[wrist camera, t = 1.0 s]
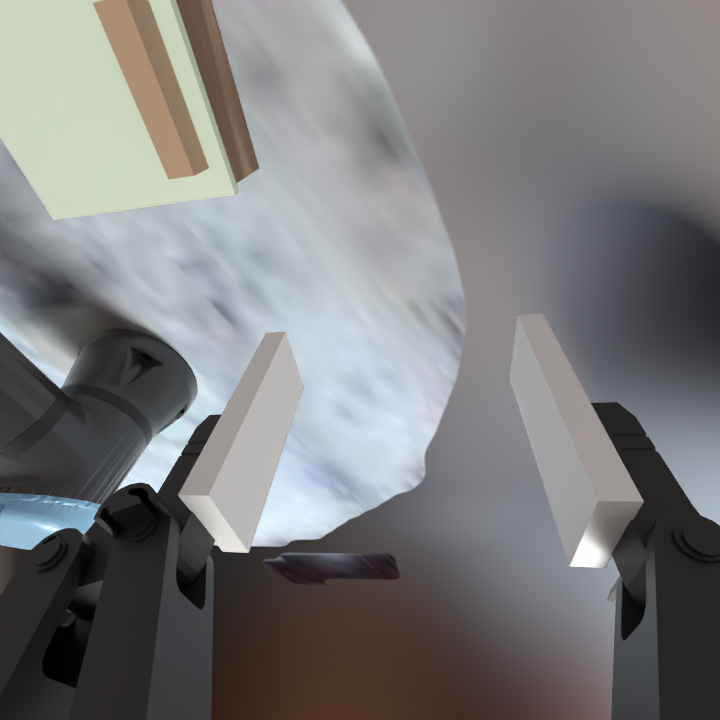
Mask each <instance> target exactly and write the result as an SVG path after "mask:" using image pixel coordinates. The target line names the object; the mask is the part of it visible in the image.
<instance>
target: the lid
mask: <svg viewBox="0 0 720 720" xmlns="http://www.w3.org/2000/svg"><path fill="white" fill-rule="evenodd" d="M0 138H1V139H2V141H3V142H4V144H5V145H6V147H7V149H8V150H9V152H10V153H11V155H12V156H13V158H14V159H15V161H16V163H17V164H18V166H19V167H20V169H21V170H22V172H23V173H24V175H25V177H26V178H27V180H28V181H29V183H30V184H31V186H32V187H33V189H34V191H35V192H36V194H37V195H38V197H39V198H40V200H41V201H42V203H43V204H44V206H45V208H46V209H47V211H48V212H49V214H50V215H51V217H52V218H53V220H60V219H67V218H74V217H81V216H88V215H95V214H102V213H109V212H116V211H123V210H130V209H137V208H144V207H151V206H158V205H165V204H172V203H179V202H186V201H193V200H200V199H207V198H214V197H221V196H228V195H235V194H236V193H238V192H239V191H238V187H237V184H236V181H235V178H234V175H233V172H232V169H231V166H230V163H229V160H228V157H227V154H226V151H225V148H224V145H223V142H222V139H221V136H220V133H219V130H218V127H217V124H216V121H215V118H214V114H213V111H212V108H211V105H210V102H209V99H208V96H207V93H206V90H205V87H204V84H203V81H202V78H201V75H200V72H199V69H198V66H197V63H196V60H195V57H194V54H193V51H192V48H191V44H190V41H189V38H188V35H187V32H186V29H185V26H184V23H183V20H182V17H181V14H180V11H179V8H178V5H177V2H176V0H0Z"/></svg>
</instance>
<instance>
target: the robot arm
mask: <svg viewBox="0 0 720 720" xmlns="http://www.w3.org/2000/svg"><path fill="white" fill-rule="evenodd" d="M510 382H511V385H512V388H513V391H514V394H515V397H516V400H517V403H518V407H519V410H520V413H521V416H522V419H523V422H524V425H525V428H526V432H527V434H528V438H529V441H530V444H531V447H532V450H533V453H534V456H535V460H536V463H537V466H538V469H539V472H540V475H541V478H542V481H543V484H544V487H545V491H546V494H547V497H548V500H549V503H550V506H551V509H552V513H553V516H554V519H555V522H556V525H557V528H558V531H559V534H560V538H561V541H562V544H563V547H564V550H565V553H566V556H567V559H568V563H569V566H574V567H576V566H577V567H599V568H606V567H607V565H608V563H609V561H610V560H611V558H612V556H613V559H614V561H615V563H616V566H617V568H618V571H619V573H620V577H619V579H618V580H617V581H616V583H615V585H614V586H613V588H612V589H611V591H610V594H609V597H608V600H609V601H611V602H614V601H615V599H616V612H615V613H616V614H615V638H614V663H613V688H612V714H611V720H720V526H719V525H718V524H716V523H715V522H713V521H712V520H709V519H707V518H705V517H703V516H700V514H699V513H698V512H697V510H696V509H695V508H694V507H693V505H692V504H691V502H690V501H689V499H688V498H687V496H686V495H685V493H684V491H683V490H682V488H681V487H680V485H679V484H678V482H677V481H676V479H675V478H674V476H673V474H672V473H671V471H670V470H669V468H668V467H667V465H666V464H665V462H664V460H663V459H662V457H661V456H660V454H659V453H658V452H656V450H655V446H654V445H653V443H652V442H651V440H650V439H649V437H646V433H645V431H644V429H643V428H642V426H641V425H640V423H639V422H638V420H637V419H636V417H635V416H634V415H632V414H631V413H630V412H629V411H627V410H626V409H625V408H624V407H622V406H621V405H620V404H619V403H617V402H612V403H611V402H609V403H590V401H589V399H588V397H587V395H586V393H585V392H584V390H583V388H582V386H581V385H580V382H579V381H578V379H577V377H576V375H575V373H574V371H573V369H572V368H571V366H570V364H569V362H568V360H567V358H566V356H565V355H564V353H563V351H562V349H561V347H560V345H559V344H558V342H557V340H556V338H555V336H554V334H553V332H552V330H551V329H550V327H549V325H548V323H547V321H546V319H545V317H544V316H543V314H536V315H521V316H518V318H517V325H516V334H515V342H514V349H513V357H512V364H511V372H510ZM303 388H304V387H303V384H302V381H301V378H300V375H299V372H298V368H297V365H296V362H295V359H294V356H293V353H292V350H291V347H290V344H289V341H288V338H287V335H286V332H276V333H266V334H265V336H264V338H263V340H262V341H261V343H260V345H259V347H258V349H257V351H256V352H255V354H254V356H253V358H252V360H251V362H250V363H249V365H248V367H247V369H246V371H245V373H244V375H243V376H242V378H241V380H240V382H239V384H238V386H237V387H236V389H235V391H234V393H233V395H232V397H231V398H230V400H229V402H228V404H227V406H226V408H225V410H224V411H223V413H222V415H209V416H208V417H207V418H206V419H205V420H204V421H203V422H202V423H201V424H200V425H199V426H198V427H197V428H196V429H195V431H194V433H193V434H192V436H191V438H190V439H189V441H188V444H186V446H185V448H184V450H183V451H182V453H181V454H182V455H181V456H179V458H178V460H177V461H176V463H175V465H174V466H173V468H172V470H171V471H170V473H169V475H168V476H167V478H166V480H165V482H164V483H163V485H162V487H161V488H160V490H159V492H158V493H156V492H155V491H154V489H153V488H152V487H151V486H150V485H149V484H145V483H135V484H130V485H128V486H126V487H124V488H121V489H119V490H118V491H117V489H118V488H119V486H120V485H121V483H122V482H123V480H124V479H125V477H126V476H127V475H128V473H129V472H130V470H131V469H132V467H133V466H134V464H135V463H136V461H137V460H138V458H139V457H140V456H141V454H142V453H143V451H144V450H145V448H146V447H147V445H148V444H149V442H150V441H151V440H152V438H153V437H155V436H156V435H157V434H159V433H160V432H161V431H163V430H164V429H165V428H167V427H168V426H169V425H171V424H172V423H173V422H175V421H176V420H177V419H179V418H180V417H181V416H183V415H184V414H185V413H186V412H187V411H188V409H189V408H190V406H191V404H192V403H193V401H194V400H195V398H196V395H197V383H196V379H195V377H194V374H193V372H192V371H191V369H190V368H189V366H188V365H187V364H186V362H185V361H184V360H183V359H182V358H181V357H180V356H179V355H178V354H177V353H176V352H174V351H173V350H172V349H171V348H169V347H168V346H166V345H165V344H163V343H162V342H160V341H158V340H156V339H154V338H152V337H150V336H147V335H145V334H142V333H138V332H135V331H130V330H121V329H115V330H108V331H104V332H101V333H99V334H97V335H96V336H95V337H94V338H92V339H91V340H90V341H89V342H88V343H87V344H85V345H84V346H83V348H82V349H81V350H80V352H79V353H78V357H77V359H76V361H75V363H74V364H73V366H72V368H71V370H70V372H69V374H68V376H67V378H66V380H65V382H64V384H63V386H62V387H61V388H60V389H59V387H58V386H57V385H56V384H55V383H53V382H52V381H51V380H50V379H49V378H48V377H47V376H46V375H45V374H44V373H43V372H42V371H41V370H39V369H38V368H37V367H36V366H35V365H34V364H33V363H32V362H31V361H30V360H29V359H28V358H26V357H25V356H24V355H23V354H22V353H21V352H20V351H19V350H18V349H17V348H16V347H15V346H14V345H13V344H12V343H11V342H10V341H9V340H8V339H7V338H6V337H5V336H4V335H3V334H1V333H0V545H4V546H10V547H15V548H21V549H30V550H31V551H30V552H29V554H28V555H27V556H26V557H25V559H24V560H23V562H22V563H21V565H20V567H19V568H18V569H17V571H16V573H15V574H14V576H13V577H12V579H11V580H10V582H9V583H8V585H7V587H6V588H5V590H4V591H3V593H2V594H1V596H0V720H211V690H212V634H213V579H214V565H213V561H212V557H211V556H210V555H209V554H210V552H211V549H212V547H213V544H214V542H216V544H217V545H218V546H219V547H220V548H221V550H222V551H223V552H247V553H249V550H250V547H251V544H252V541H253V538H254V535H255V532H256V529H257V526H258V523H259V520H260V517H261V514H262V511H263V508H264V505H265V502H266V499H267V496H268V493H269V490H270V487H271V484H272V481H273V478H274V475H275V472H276V469H277V466H278V463H279V460H280V457H281V454H282V451H283V448H284V445H285V442H286V439H287V436H288V433H289V430H290V427H291V424H292V421H293V418H294V415H295V412H296V409H297V406H298V403H299V400H300V397H301V394H302V391H303ZM95 521H96V522H97V523H98V524H100V525H101V526H102V527H103V528H104V529H105V530H106V531H104V532H101V533H97V534H94V535H91V536H87V537H86V536H85V535H84V534H85V532H87V530H88V529H89V528H90V527H91V525H92V524H93V523H94V522H95ZM65 611H68V612H70V613H71V615H70V617H69V619H68V620H67V621H66V623H65V624H63V625H62V626H60V625H59V623H60V621H61V619H62V617H63V615H64V613H65Z"/></svg>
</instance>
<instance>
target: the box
mask: <svg viewBox="0 0 720 720" xmlns="http://www.w3.org/2000/svg"><path fill="white" fill-rule="evenodd" d="M176 2H177V5H178V8H179V11H180V14H181V17H182V20H183V23H184V26H185V29H186V32H187V35H188V38H189V41H190V44H191V48H192V51H193V54H194V57H195V60H196V63H197V66H198V69H199V72H200V75H201V78H202V81H203V84H204V87H205V90H206V93H207V96H208V99H209V102H210V105H211V108H212V111H213V114H214V118H215V121H216V124H217V127H218V130H219V133H220V136H221V139H222V142H223V145H224V148H225V151H226V154H227V157H228V160H229V163H230V166H231V169H232V172H233V175H234V178H235V181H236V183H238V182H239V181H241V180H242V179H244V178H245V177H247V176H248V175H250V174H251V173H253V172H254V171H256V170H257V169H259V166H258V163H257V159H256V156H255V152H254V149H253V145H252V142H251V138H250V135H249V131H248V128H247V124H246V121H245V117H244V114H243V110H242V107H241V103H240V100H239V96H238V93H237V90H236V86H235V83H234V79H233V76H232V72H231V69H230V65H229V62H228V58H227V55H226V51H225V48H224V44H223V41H222V37H221V34H220V30H219V27H218V23H217V20H216V16H215V13H214V9H213V6H212V2H211V0H176Z"/></svg>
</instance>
